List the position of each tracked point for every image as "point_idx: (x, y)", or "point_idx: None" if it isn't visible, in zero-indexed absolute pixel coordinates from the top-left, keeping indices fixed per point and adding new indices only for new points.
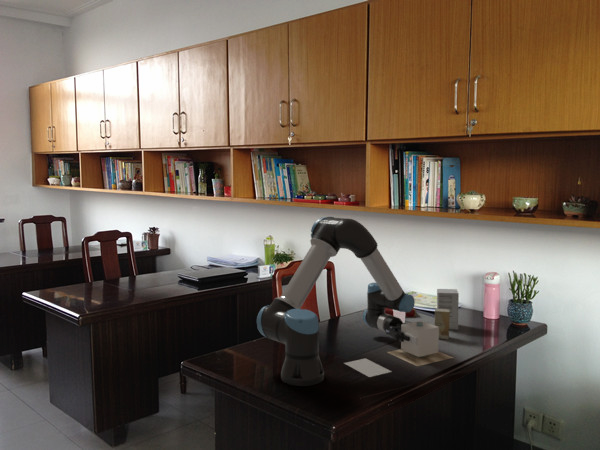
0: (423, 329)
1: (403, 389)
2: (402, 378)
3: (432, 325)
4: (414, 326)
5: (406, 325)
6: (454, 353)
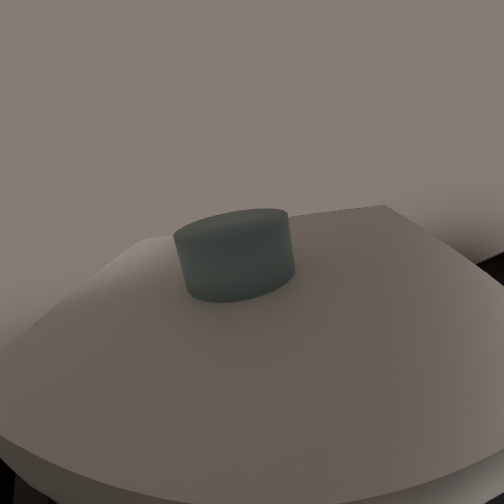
0: (314, 217)
1: (491, 262)
2: None
3: (123, 261)
4: (352, 266)
5: (491, 319)
6: None
